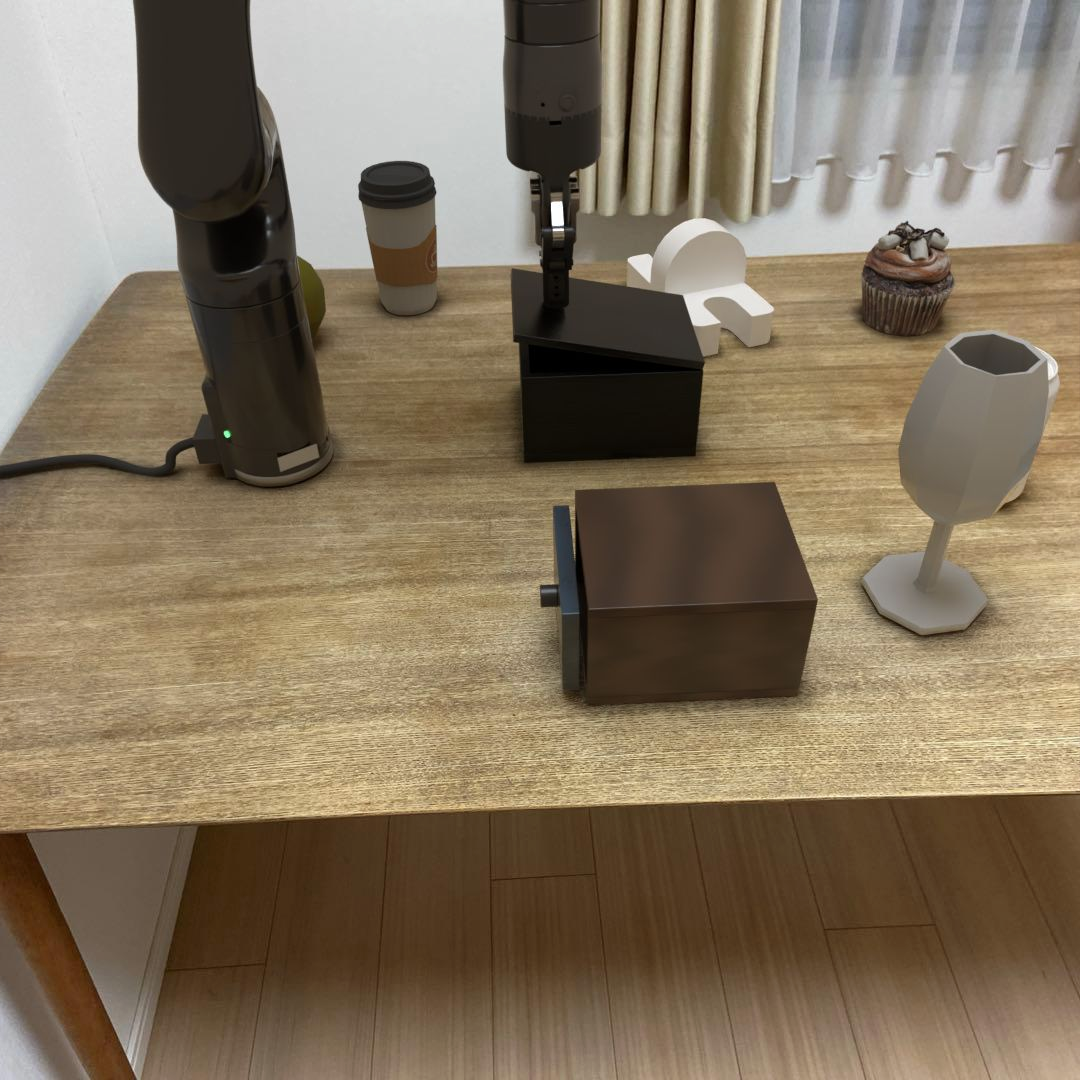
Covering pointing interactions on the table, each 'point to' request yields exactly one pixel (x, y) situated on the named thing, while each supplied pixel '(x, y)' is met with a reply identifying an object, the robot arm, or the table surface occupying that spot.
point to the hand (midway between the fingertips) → (556, 304)
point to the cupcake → (906, 281)
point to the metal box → (605, 406)
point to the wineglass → (961, 469)
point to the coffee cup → (401, 233)
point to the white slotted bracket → (706, 282)
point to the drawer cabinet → (690, 593)
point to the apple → (312, 295)
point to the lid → (606, 321)
